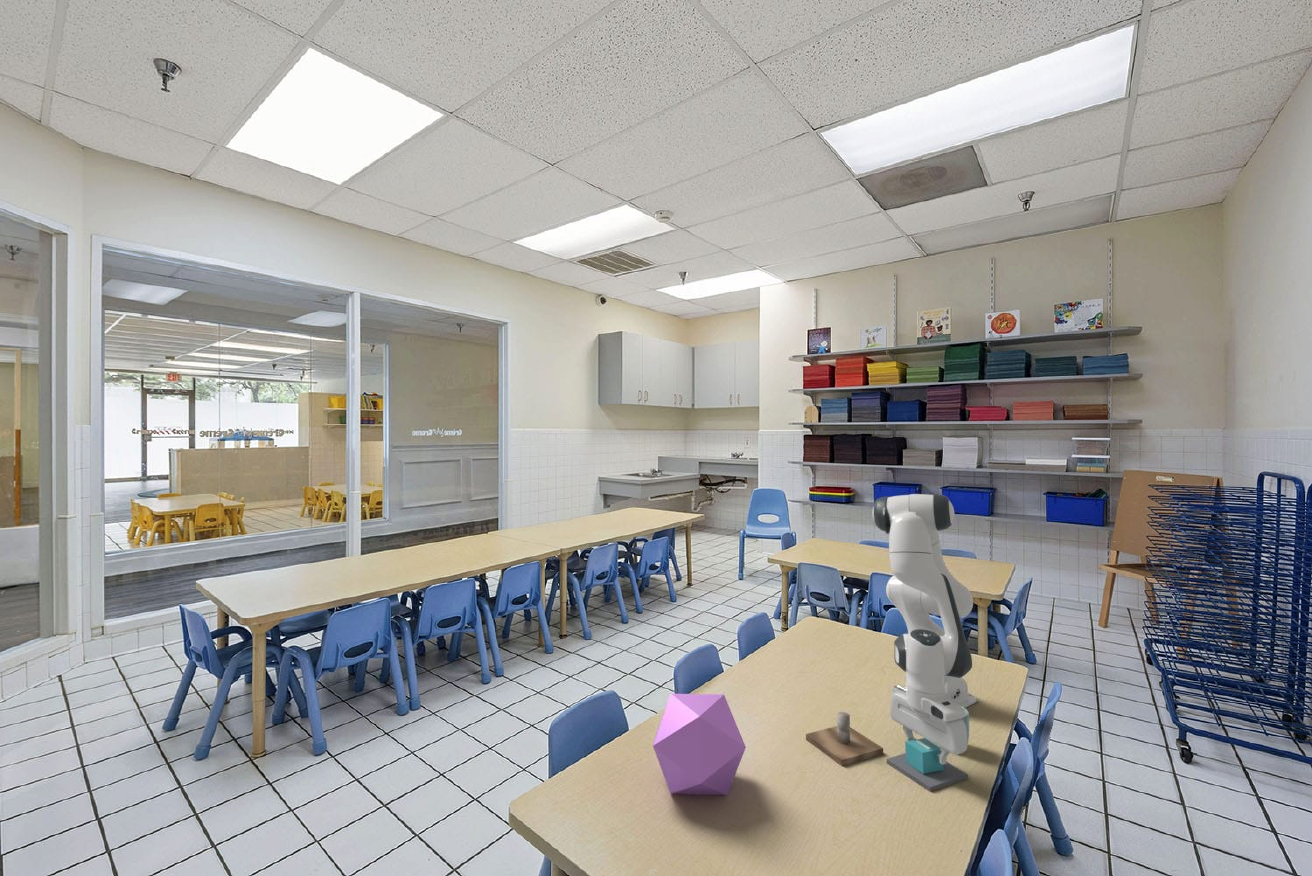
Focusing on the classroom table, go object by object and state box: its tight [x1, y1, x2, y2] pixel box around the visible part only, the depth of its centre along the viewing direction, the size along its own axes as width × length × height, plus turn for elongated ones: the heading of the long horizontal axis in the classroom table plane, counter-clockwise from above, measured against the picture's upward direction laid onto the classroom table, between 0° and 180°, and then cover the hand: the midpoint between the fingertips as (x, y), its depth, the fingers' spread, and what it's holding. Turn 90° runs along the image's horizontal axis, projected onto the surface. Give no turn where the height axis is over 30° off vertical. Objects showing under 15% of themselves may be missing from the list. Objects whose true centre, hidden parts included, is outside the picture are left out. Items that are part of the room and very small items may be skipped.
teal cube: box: [904, 737, 944, 774], centre depth 139 cm, size 6×6×5 cm
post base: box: [805, 711, 884, 767], centre depth 150 cm, size 14×14×8 cm
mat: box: [886, 752, 969, 792], centre depth 139 cm, size 13×13×1 cm
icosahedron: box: [652, 693, 747, 796], centre depth 133 cm, size 22×21×25 cm
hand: (926, 753), depth 139 cm, fingers open, 7 cm apart
